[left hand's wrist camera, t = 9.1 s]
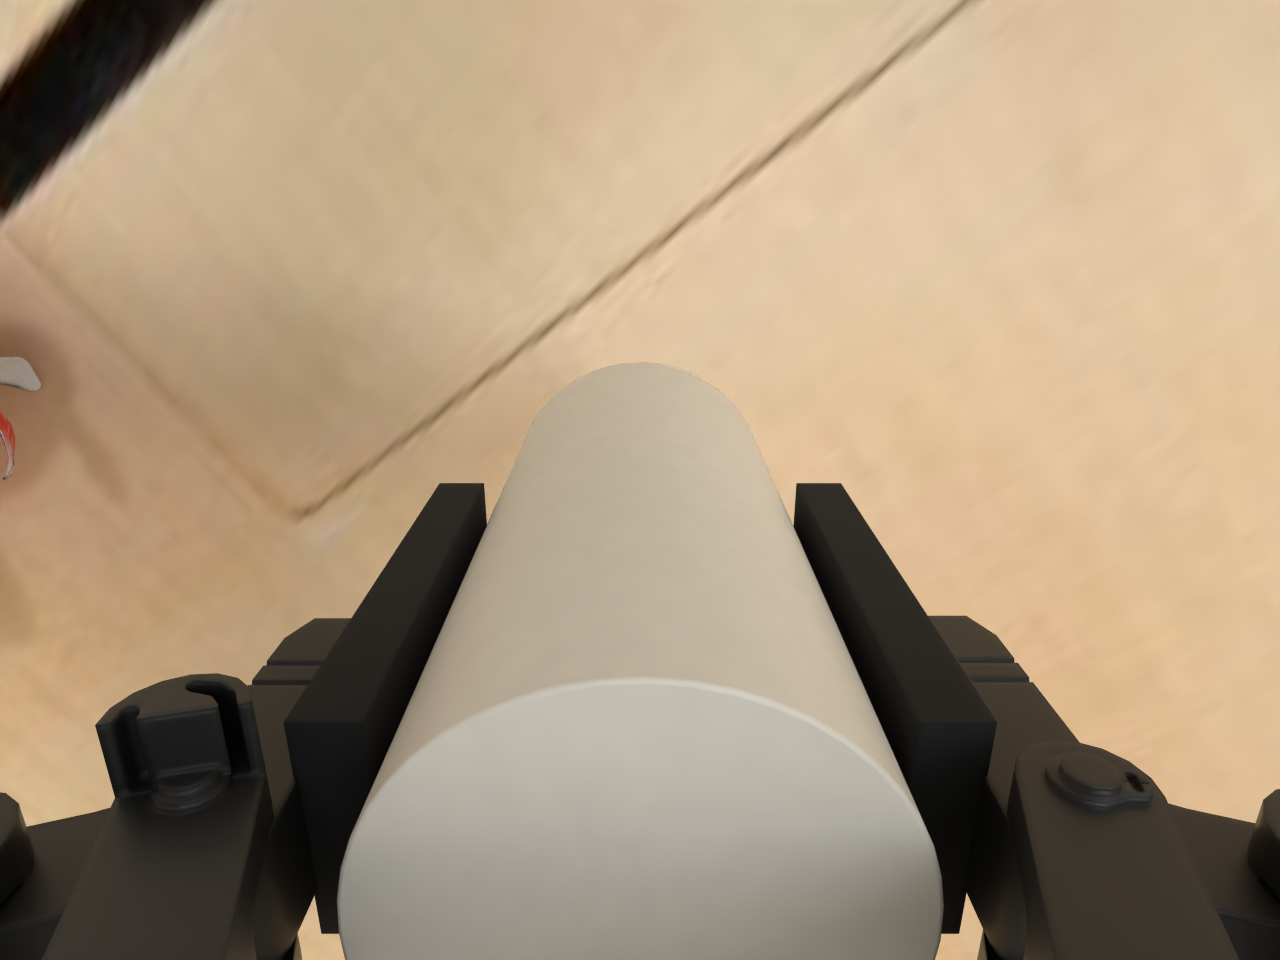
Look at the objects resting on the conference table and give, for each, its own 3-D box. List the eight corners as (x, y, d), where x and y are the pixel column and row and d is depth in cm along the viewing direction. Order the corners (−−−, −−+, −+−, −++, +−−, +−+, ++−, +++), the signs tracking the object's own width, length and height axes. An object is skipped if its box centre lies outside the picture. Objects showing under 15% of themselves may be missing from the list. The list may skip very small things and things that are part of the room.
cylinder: (768, 577, 19) (941, 1117, 8) (539, 600, 19) (406, 1156, 8) (753, 348, 17) (951, 645, 6) (499, 376, 17) (262, 713, 6)
